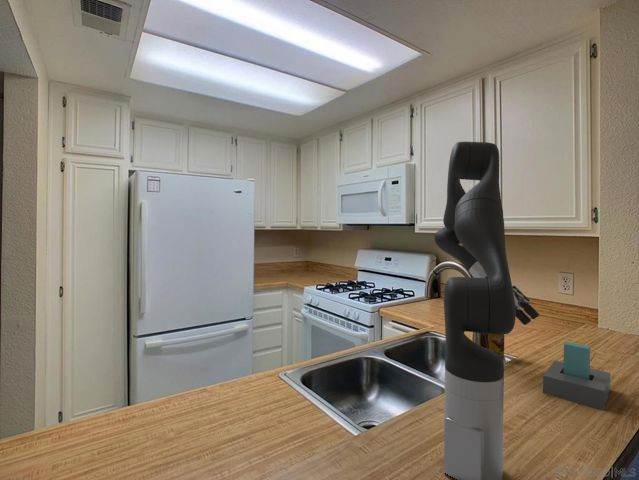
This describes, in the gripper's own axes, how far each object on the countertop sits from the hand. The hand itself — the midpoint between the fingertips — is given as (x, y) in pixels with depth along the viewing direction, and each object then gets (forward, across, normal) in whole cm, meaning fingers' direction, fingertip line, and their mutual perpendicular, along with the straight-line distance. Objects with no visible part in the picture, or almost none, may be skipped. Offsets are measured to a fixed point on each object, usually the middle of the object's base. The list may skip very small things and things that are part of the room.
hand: (532, 320), depth 94 cm
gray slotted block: (+19, 0, +5) cm, 19 cm away
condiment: (+2, +10, +22) cm, 24 cm away
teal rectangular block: (+19, 0, +5) cm, 19 cm away
